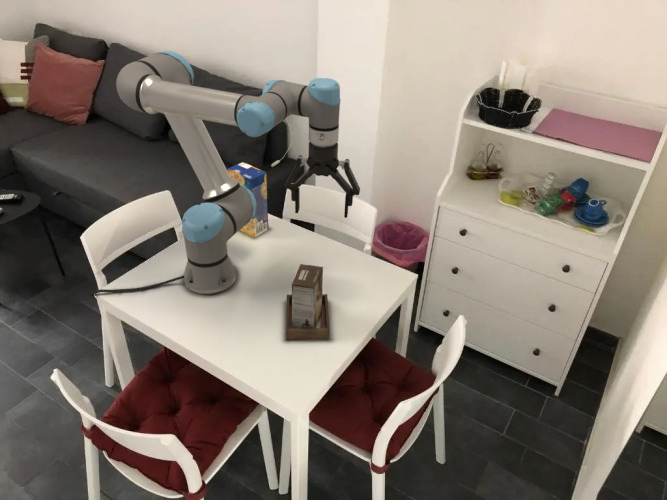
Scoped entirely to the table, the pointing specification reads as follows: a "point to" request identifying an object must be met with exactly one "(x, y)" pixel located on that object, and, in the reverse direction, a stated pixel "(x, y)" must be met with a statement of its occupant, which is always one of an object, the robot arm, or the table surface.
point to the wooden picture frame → (308, 332)
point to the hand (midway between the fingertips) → (321, 213)
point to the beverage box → (258, 186)
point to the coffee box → (307, 296)
